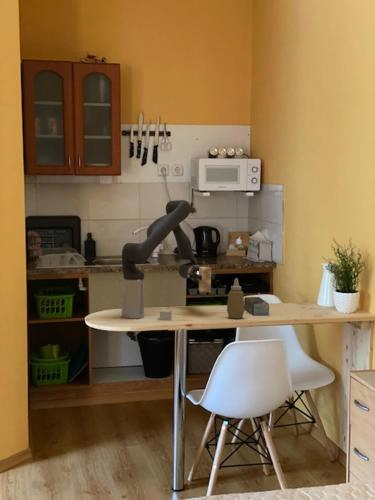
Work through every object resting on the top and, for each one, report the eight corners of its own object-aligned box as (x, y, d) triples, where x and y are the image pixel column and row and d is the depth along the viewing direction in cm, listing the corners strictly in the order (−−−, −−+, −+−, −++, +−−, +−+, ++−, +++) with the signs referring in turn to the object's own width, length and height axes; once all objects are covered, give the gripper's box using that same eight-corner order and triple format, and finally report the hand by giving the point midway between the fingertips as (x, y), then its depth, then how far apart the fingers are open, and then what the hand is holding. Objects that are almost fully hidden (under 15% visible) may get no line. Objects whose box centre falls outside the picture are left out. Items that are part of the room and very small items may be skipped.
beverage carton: (252, 316, 298) (253, 302, 298) (243, 309, 317) (243, 296, 317) (269, 316, 299) (269, 302, 299) (259, 309, 318) (259, 296, 318)
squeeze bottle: (248, 318, 292) (249, 278, 290) (235, 320, 286) (236, 279, 285) (235, 315, 298) (236, 276, 296) (222, 317, 293) (223, 278, 291)
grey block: (159, 320, 283) (159, 311, 283) (160, 318, 288) (160, 309, 288) (171, 320, 283) (171, 311, 283) (171, 318, 288) (171, 309, 288)
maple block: (201, 292, 294) (201, 268, 293) (198, 290, 298) (199, 267, 297) (210, 292, 295) (211, 268, 294) (207, 290, 299) (208, 267, 298)
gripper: (183, 265, 308) (191, 269, 291) (211, 265, 311) (221, 269, 294) (182, 281, 308) (191, 286, 292) (211, 281, 312) (221, 286, 295)
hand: (206, 278), depth 293 cm, fingers closed on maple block, 4 cm apart
